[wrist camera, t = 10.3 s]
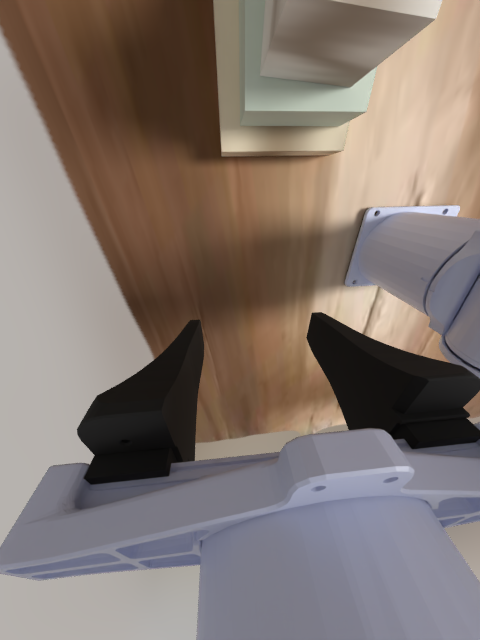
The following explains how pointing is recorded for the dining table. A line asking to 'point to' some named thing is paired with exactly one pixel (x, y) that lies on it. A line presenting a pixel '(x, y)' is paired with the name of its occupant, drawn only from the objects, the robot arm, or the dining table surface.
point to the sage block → (289, 86)
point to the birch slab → (228, 79)
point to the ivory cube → (337, 36)
